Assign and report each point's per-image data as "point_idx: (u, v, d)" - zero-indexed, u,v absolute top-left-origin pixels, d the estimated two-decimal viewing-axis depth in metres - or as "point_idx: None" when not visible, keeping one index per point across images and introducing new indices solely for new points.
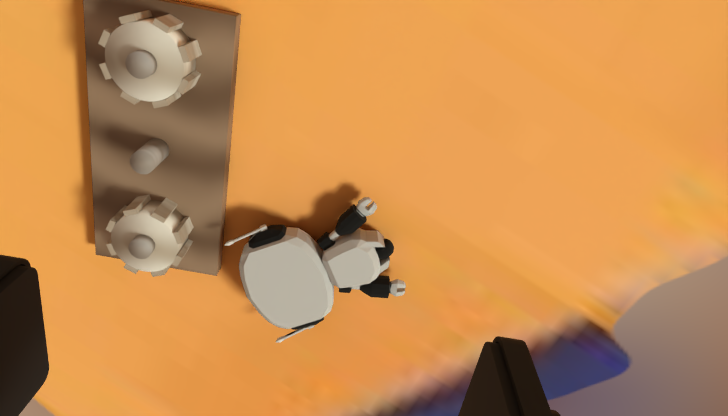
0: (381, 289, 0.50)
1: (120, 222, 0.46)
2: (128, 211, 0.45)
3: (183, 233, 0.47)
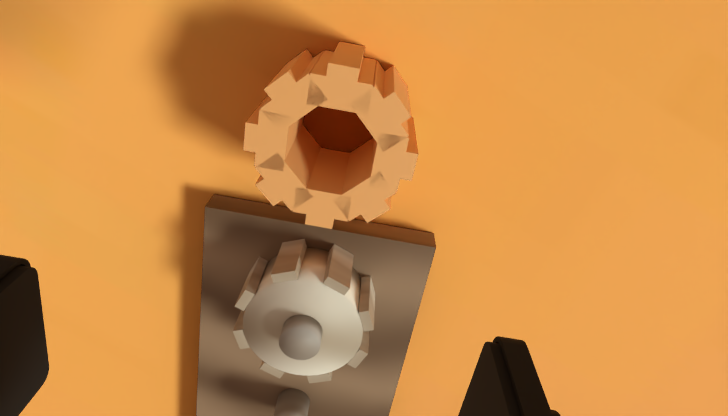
0: None
1: None
2: None
3: None
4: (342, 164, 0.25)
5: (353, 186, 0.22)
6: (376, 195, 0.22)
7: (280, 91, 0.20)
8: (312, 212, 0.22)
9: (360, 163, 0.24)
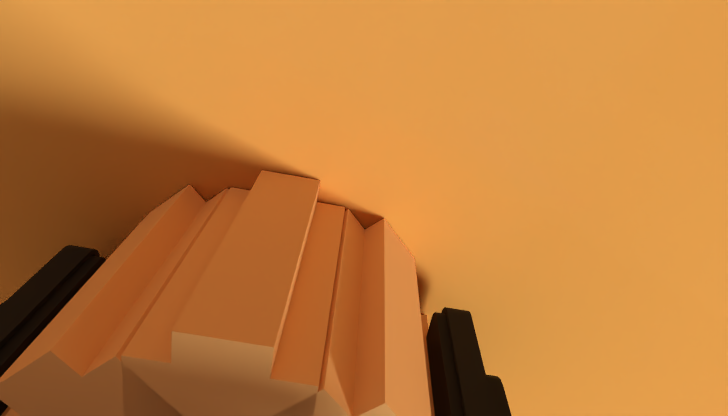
0: None
1: None
2: None
3: None
4: None
5: None
6: None
7: (39, 397, 0.07)
8: None
9: None
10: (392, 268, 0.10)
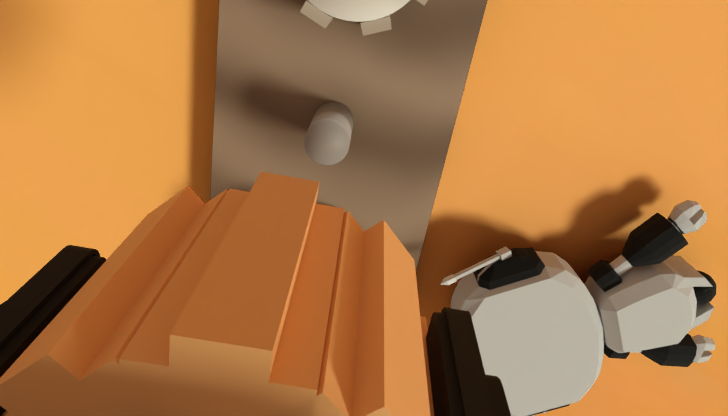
0: (683, 354, 0.30)
1: None
2: None
3: None
4: None
5: None
6: None
7: (37, 400, 0.07)
8: None
9: None
10: (391, 270, 0.10)
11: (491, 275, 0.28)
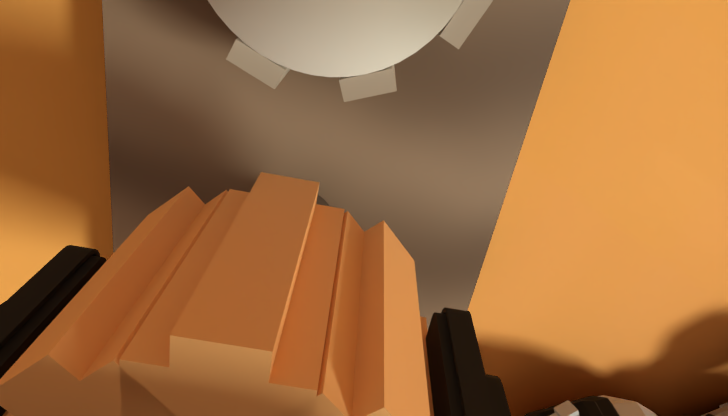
0: None
1: None
2: None
3: None
4: None
5: None
6: None
7: (37, 401, 0.07)
8: None
9: None
10: (391, 271, 0.10)
11: None
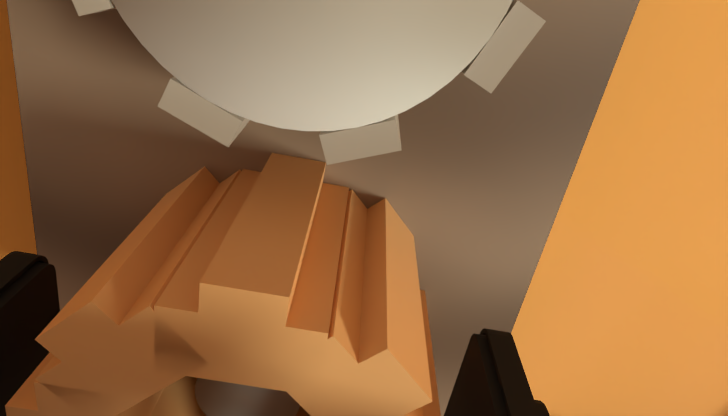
0: None
1: None
2: None
3: None
4: None
5: None
6: None
7: (80, 344, 0.07)
8: None
9: None
10: (393, 241, 0.10)
11: None
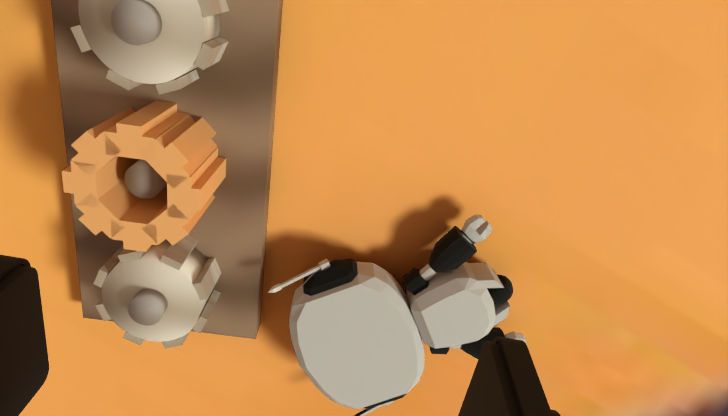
0: None
1: (114, 272, 0.31)
2: (126, 256, 0.30)
3: (208, 283, 0.32)
4: (166, 198, 0.30)
5: (156, 217, 0.27)
6: (175, 223, 0.27)
7: (84, 146, 0.26)
8: (127, 239, 0.28)
9: None
10: (196, 128, 0.29)
11: (312, 283, 0.32)
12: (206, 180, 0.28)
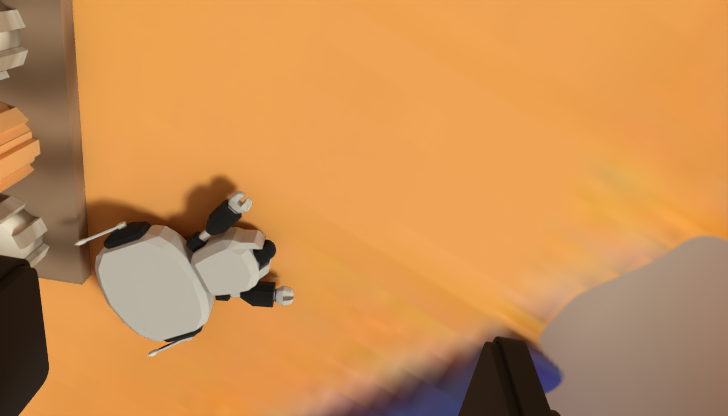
0: (263, 297, 0.44)
1: None
2: None
3: (28, 236, 0.41)
4: None
5: None
6: None
7: None
8: None
9: None
10: (4, 115, 0.37)
11: (109, 239, 0.41)
12: (6, 156, 0.36)
